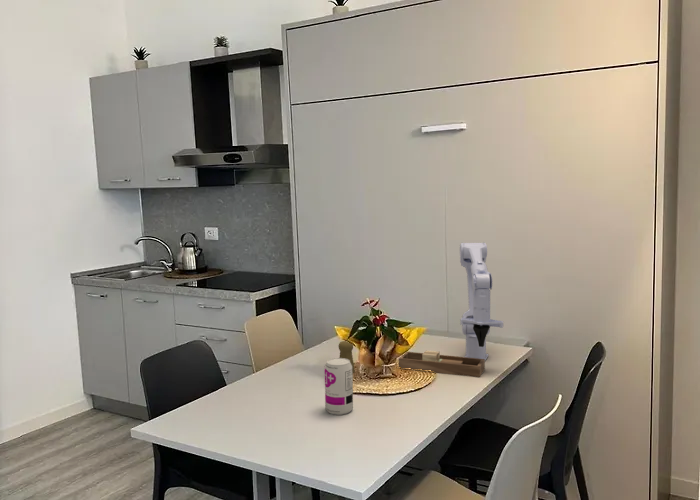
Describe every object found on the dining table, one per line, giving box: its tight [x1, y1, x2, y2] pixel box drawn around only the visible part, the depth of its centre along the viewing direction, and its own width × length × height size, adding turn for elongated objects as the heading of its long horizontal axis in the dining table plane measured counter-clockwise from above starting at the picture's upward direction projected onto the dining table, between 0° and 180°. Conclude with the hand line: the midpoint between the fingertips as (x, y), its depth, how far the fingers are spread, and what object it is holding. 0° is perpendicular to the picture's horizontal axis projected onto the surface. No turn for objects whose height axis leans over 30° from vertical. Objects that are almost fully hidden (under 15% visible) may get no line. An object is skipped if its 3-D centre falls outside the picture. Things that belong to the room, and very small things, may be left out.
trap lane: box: [398, 351, 486, 378], centre depth 222 cm, size 9×29×4 cm, turn 67°
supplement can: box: [324, 357, 354, 416], centre depth 185 cm, size 8×8×15 cm
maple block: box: [422, 350, 441, 362], centre depth 223 cm, size 5×5×3 cm
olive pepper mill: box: [338, 340, 356, 375], centre depth 221 cm, size 6×6×11 cm
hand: (481, 346), depth 217 cm, fingers closed
